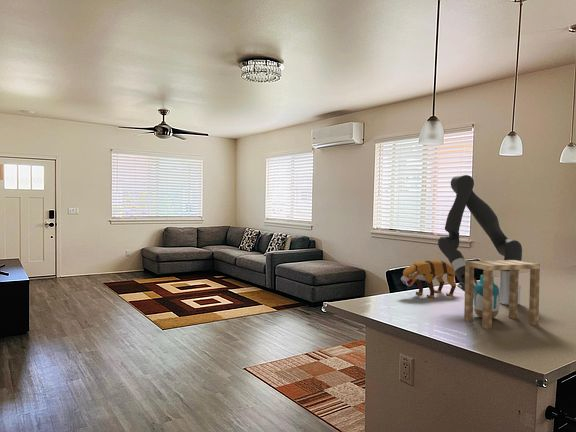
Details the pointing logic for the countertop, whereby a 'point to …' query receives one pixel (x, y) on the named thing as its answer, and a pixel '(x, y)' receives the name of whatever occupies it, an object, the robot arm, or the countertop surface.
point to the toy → (429, 275)
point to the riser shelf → (513, 289)
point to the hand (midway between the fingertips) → (478, 300)
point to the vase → (479, 298)
